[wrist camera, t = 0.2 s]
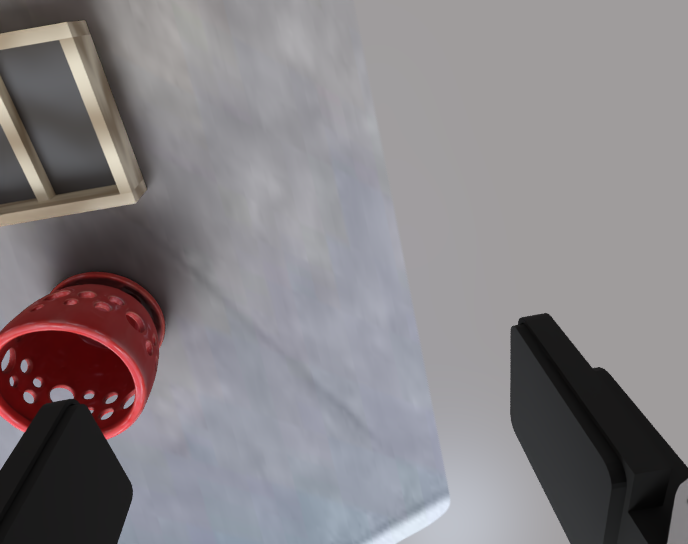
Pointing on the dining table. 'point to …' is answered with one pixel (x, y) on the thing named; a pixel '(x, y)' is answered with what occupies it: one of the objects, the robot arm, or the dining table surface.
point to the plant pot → (84, 350)
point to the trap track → (60, 128)
